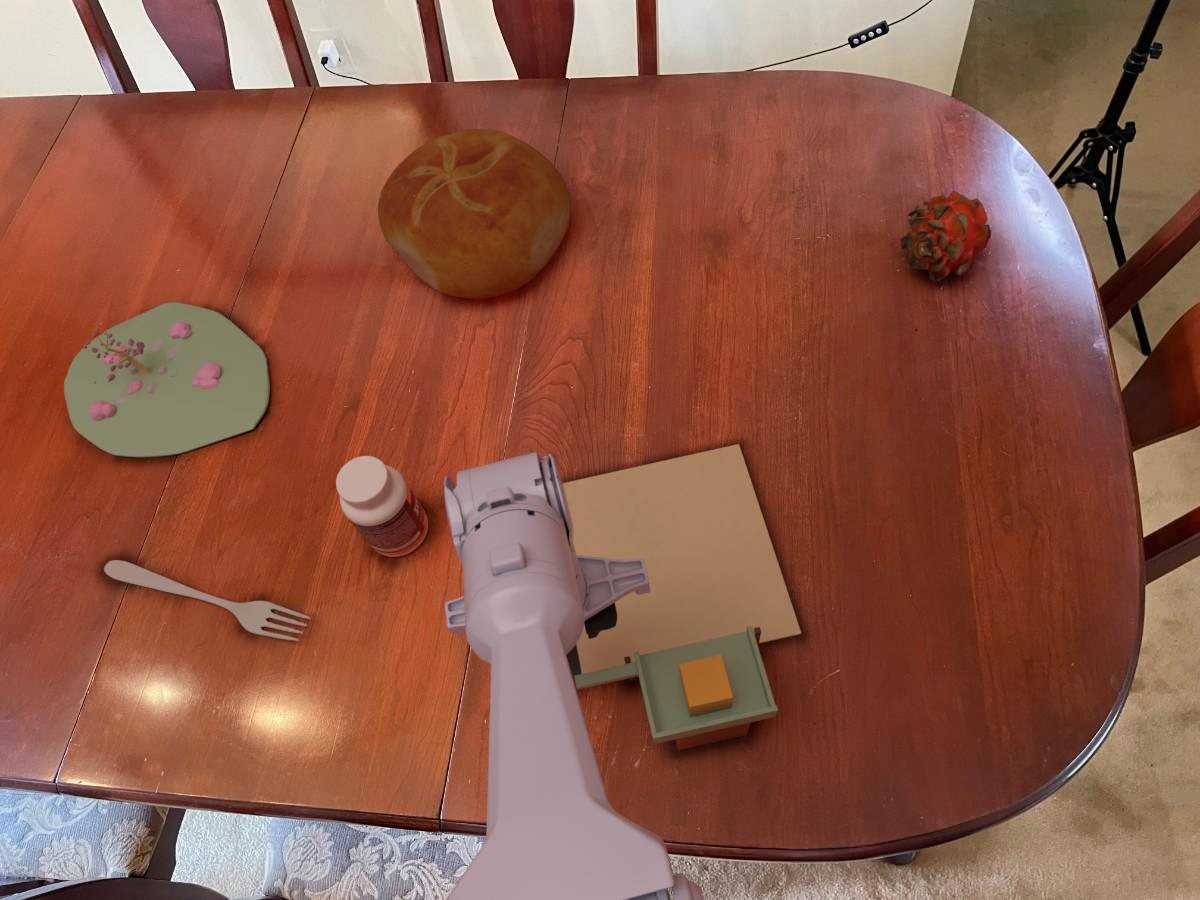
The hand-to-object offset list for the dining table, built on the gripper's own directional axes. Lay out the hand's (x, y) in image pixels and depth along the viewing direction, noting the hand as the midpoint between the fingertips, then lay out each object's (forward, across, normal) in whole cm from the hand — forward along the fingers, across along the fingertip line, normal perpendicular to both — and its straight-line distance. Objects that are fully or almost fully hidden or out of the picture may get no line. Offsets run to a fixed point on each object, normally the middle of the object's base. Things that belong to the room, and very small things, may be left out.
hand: (563, 632), depth 68 cm
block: (+3, -10, +6) cm, 12 cm away
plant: (+10, +39, -42) cm, 58 cm away
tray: (+4, -7, +5) cm, 9 cm away
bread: (+10, +2, -54) cm, 55 cm away
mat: (+9, -10, -8) cm, 16 cm away
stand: (+9, -10, +6) cm, 15 cm away
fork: (+10, +35, -14) cm, 39 cm away
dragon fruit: (+10, -48, -36) cm, 61 cm away
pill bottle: (+10, +15, -17) cm, 25 cm away
